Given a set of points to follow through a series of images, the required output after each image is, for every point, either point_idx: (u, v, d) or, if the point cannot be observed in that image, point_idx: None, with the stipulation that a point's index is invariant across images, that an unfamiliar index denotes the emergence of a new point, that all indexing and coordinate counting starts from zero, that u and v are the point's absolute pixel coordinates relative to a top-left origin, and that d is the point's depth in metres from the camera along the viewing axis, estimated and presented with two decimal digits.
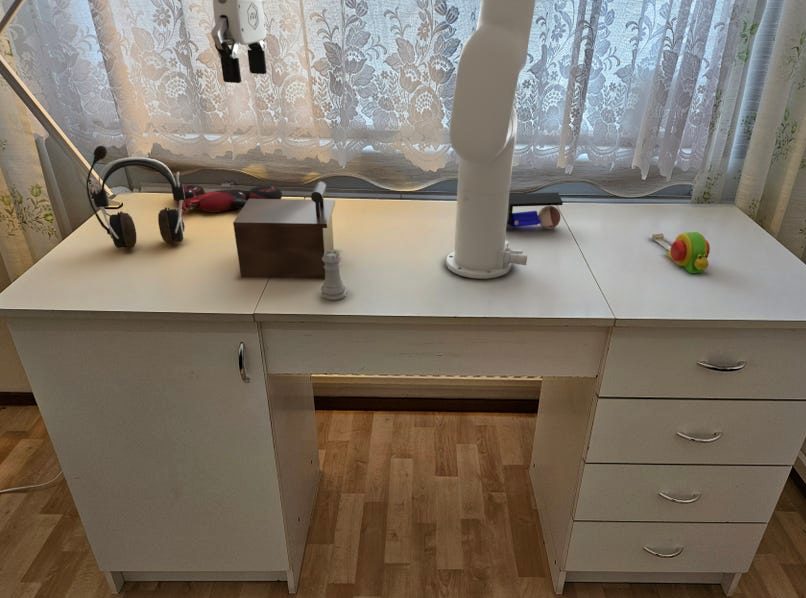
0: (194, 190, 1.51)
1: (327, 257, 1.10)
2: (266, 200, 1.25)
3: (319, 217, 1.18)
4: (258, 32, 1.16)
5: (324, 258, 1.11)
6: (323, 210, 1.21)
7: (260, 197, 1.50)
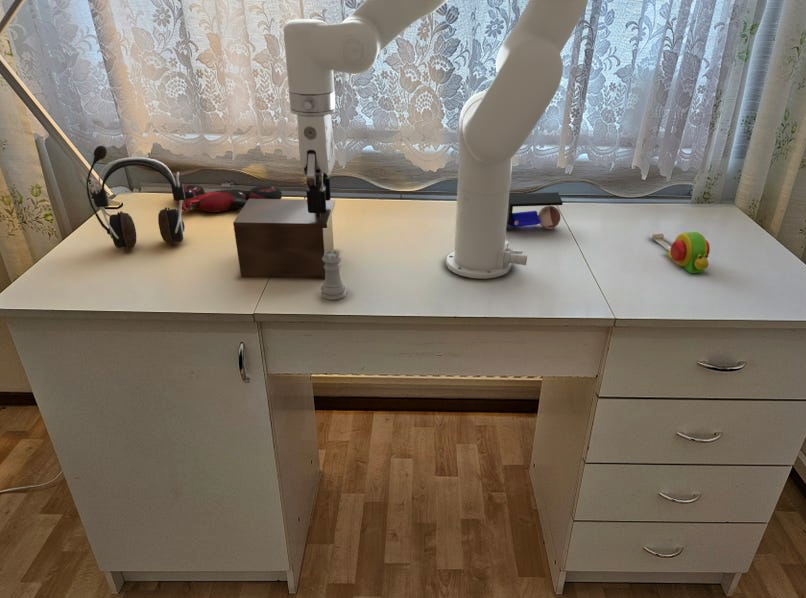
0: (194, 190, 1.51)
1: (327, 257, 1.10)
2: (266, 200, 1.25)
3: (319, 217, 1.18)
4: (333, 158, 1.17)
5: (324, 258, 1.11)
6: None
7: (260, 197, 1.50)
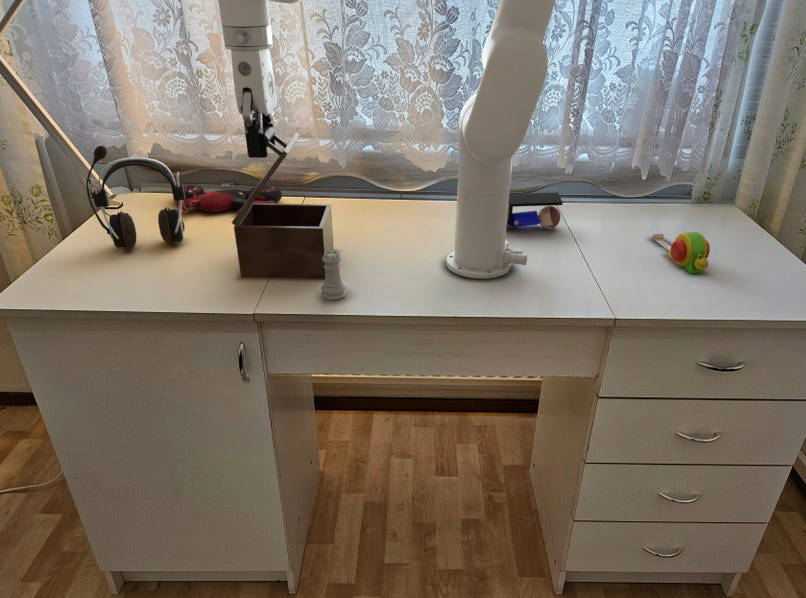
0: (194, 190, 1.51)
1: (327, 257, 1.10)
2: None
3: (281, 153, 1.12)
4: (274, 100, 1.11)
5: (324, 258, 1.11)
6: None
7: (260, 197, 1.50)
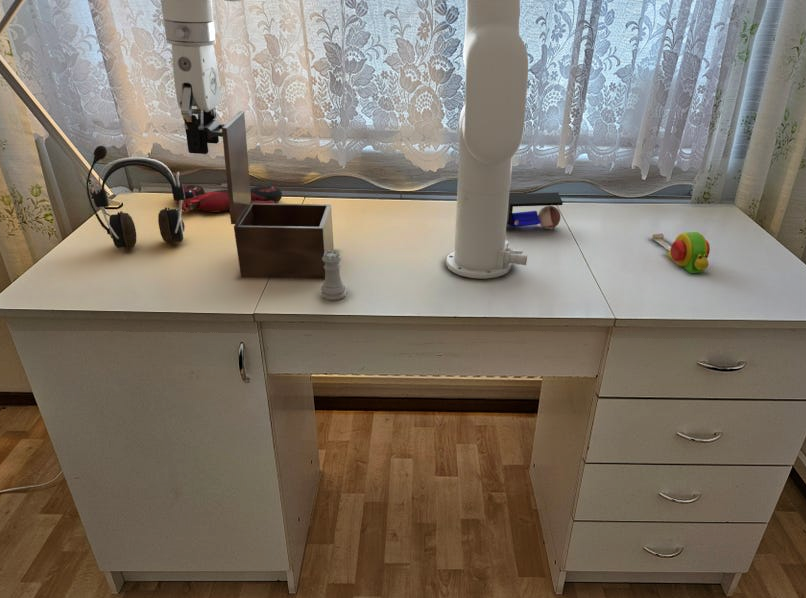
0: (194, 190, 1.51)
1: (327, 257, 1.10)
2: None
3: None
4: (217, 97, 1.11)
5: (324, 258, 1.11)
6: None
7: (260, 197, 1.50)
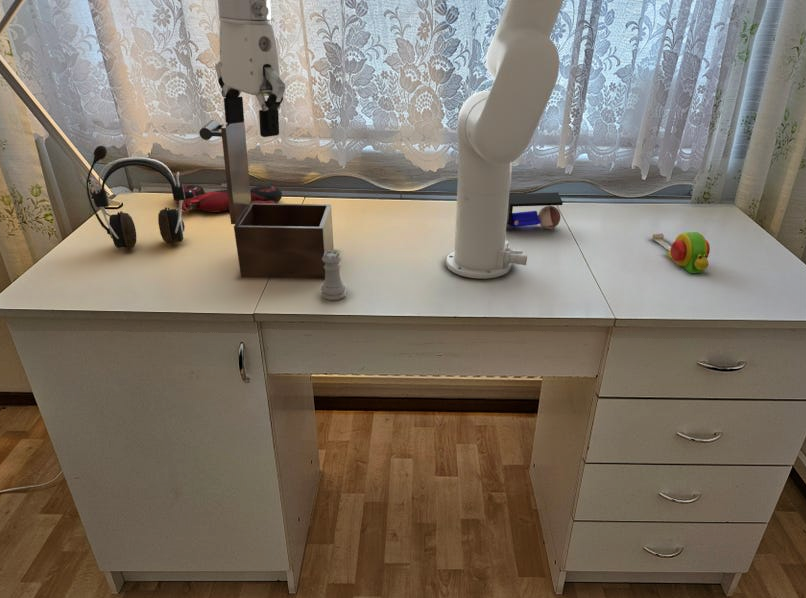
0: (194, 190, 1.51)
1: (327, 257, 1.10)
2: None
3: None
4: None
5: (324, 258, 1.11)
6: None
7: (260, 197, 1.50)
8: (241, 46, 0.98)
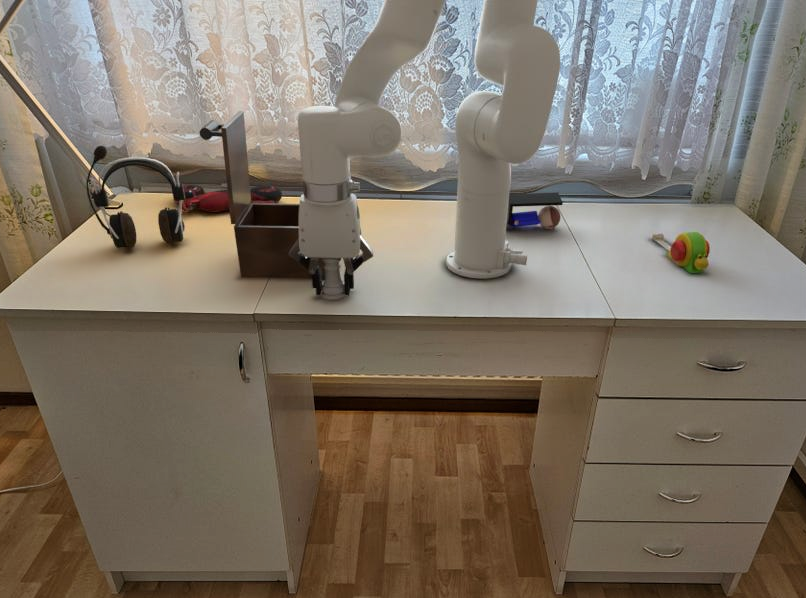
0: (194, 190, 1.51)
1: None
2: None
3: None
4: None
5: (324, 258, 1.11)
6: None
7: (260, 197, 1.50)
8: (340, 221, 1.06)
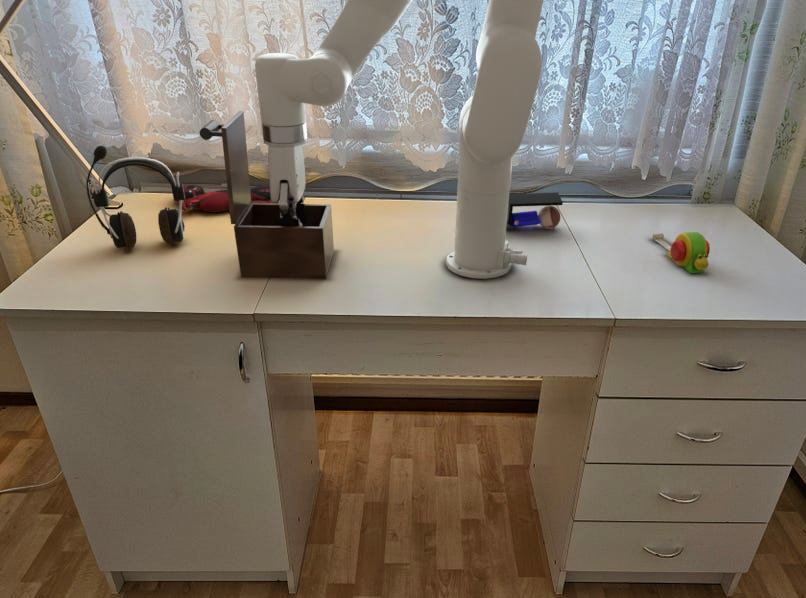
0: (194, 190, 1.51)
1: None
2: None
3: None
4: None
5: None
6: None
7: (260, 197, 1.50)
8: None
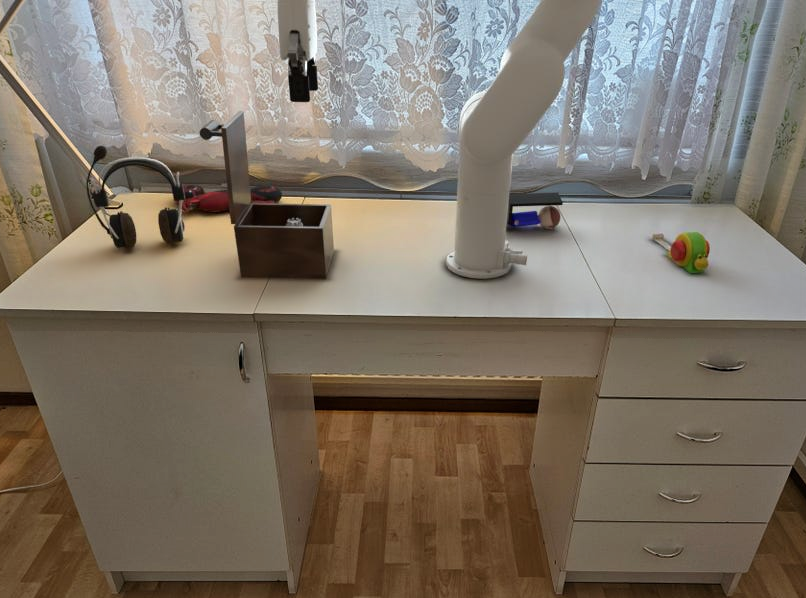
0: (194, 190, 1.51)
1: (299, 222, 1.21)
2: None
3: None
4: None
5: (297, 225, 1.21)
6: None
7: (260, 197, 1.50)
8: (315, 11, 1.07)
